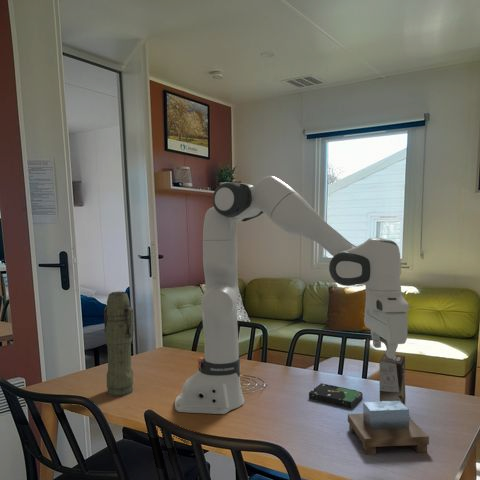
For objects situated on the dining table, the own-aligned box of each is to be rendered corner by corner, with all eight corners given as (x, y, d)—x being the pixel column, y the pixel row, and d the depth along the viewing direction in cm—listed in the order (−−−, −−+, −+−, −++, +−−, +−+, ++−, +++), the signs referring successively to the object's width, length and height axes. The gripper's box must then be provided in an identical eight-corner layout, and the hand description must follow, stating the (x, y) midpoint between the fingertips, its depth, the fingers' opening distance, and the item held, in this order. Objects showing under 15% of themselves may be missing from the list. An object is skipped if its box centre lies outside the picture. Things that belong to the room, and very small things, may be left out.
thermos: (113, 385, 152) (111, 290, 151) (141, 388, 148) (139, 291, 147) (97, 394, 143) (95, 293, 143) (127, 398, 139) (124, 294, 139)
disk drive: (308, 401, 136) (352, 410, 128) (308, 392, 136) (352, 401, 128) (320, 390, 145) (363, 399, 137) (320, 382, 145) (362, 390, 137)
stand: (365, 455, 102) (365, 438, 102) (347, 428, 116) (347, 414, 116) (429, 452, 102) (428, 436, 102) (404, 426, 116) (404, 412, 116)
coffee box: (402, 419, 121) (401, 363, 120) (379, 414, 124) (378, 360, 124) (406, 407, 129) (405, 355, 128) (384, 403, 132) (384, 352, 132)
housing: (370, 430, 106) (370, 410, 106) (363, 420, 111) (363, 402, 111) (409, 428, 106) (408, 409, 106) (399, 419, 112) (399, 400, 112)
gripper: (358, 294, 119) (358, 342, 119) (386, 306, 98) (386, 364, 99) (380, 293, 119) (380, 341, 119) (412, 306, 99) (412, 364, 99)
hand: (383, 352), depth 109 cm, fingers open, 8 cm apart
